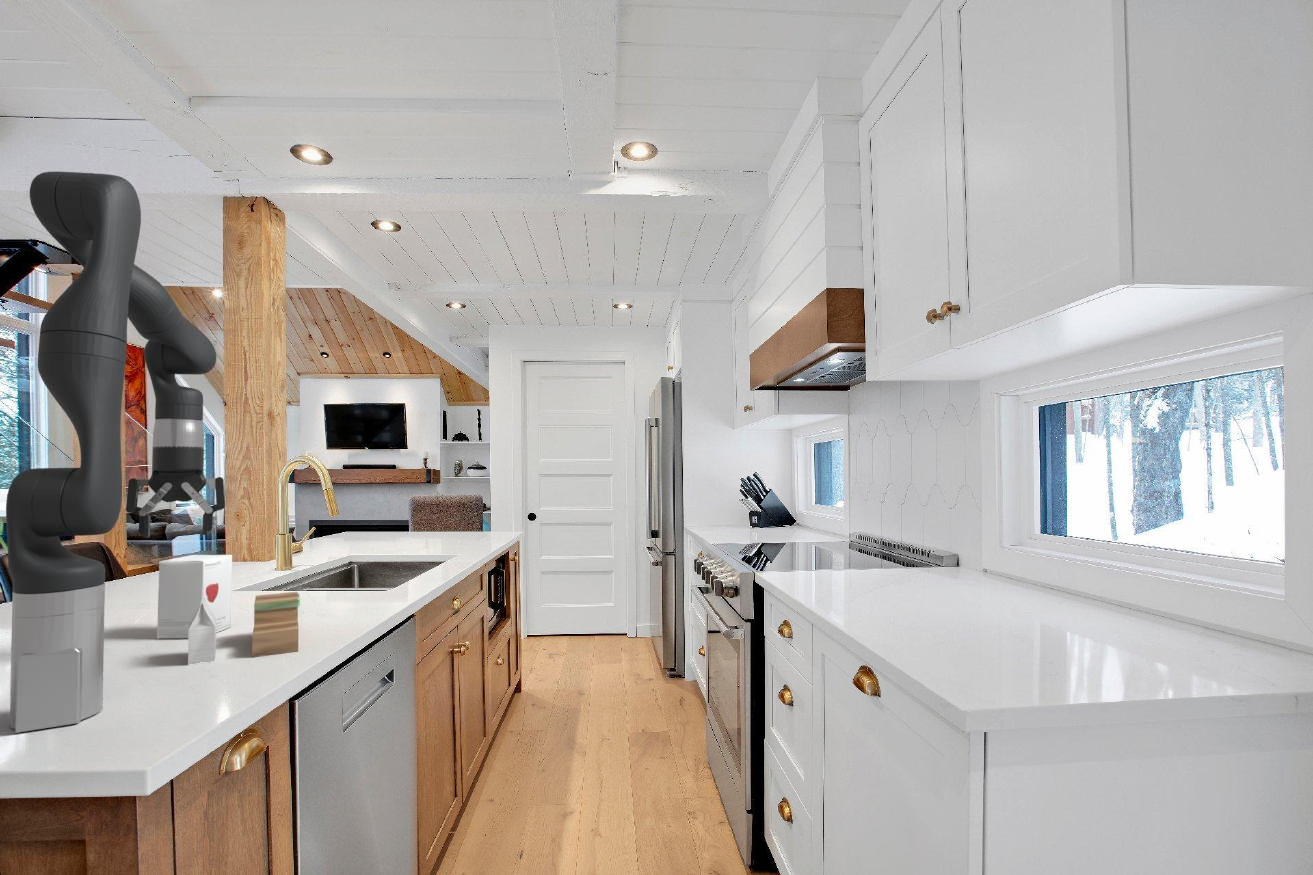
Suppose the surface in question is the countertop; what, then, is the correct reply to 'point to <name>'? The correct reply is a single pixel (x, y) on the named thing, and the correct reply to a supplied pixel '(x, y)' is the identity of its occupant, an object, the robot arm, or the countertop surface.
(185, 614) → the supplement box
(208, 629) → the white milk carton
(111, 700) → the countertop surface
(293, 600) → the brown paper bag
